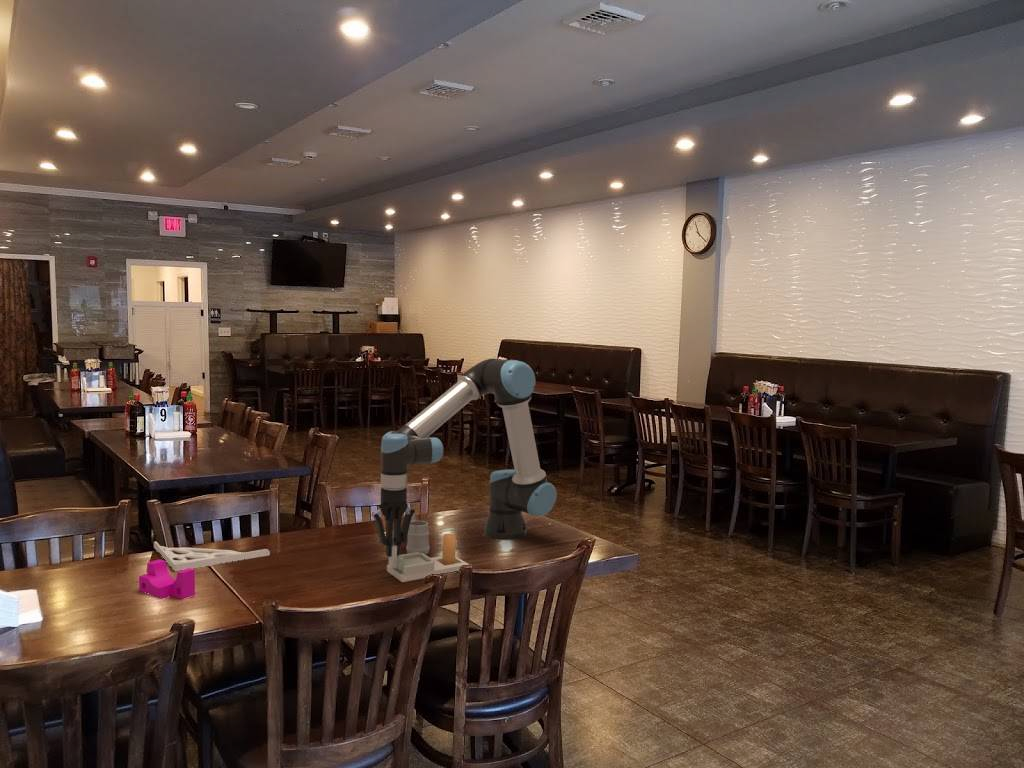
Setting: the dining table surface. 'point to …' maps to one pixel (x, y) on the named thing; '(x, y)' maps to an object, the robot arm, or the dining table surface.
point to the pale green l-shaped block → (407, 562)
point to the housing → (424, 567)
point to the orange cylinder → (448, 549)
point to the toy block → (167, 581)
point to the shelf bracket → (203, 556)
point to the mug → (418, 537)
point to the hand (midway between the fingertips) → (392, 566)
